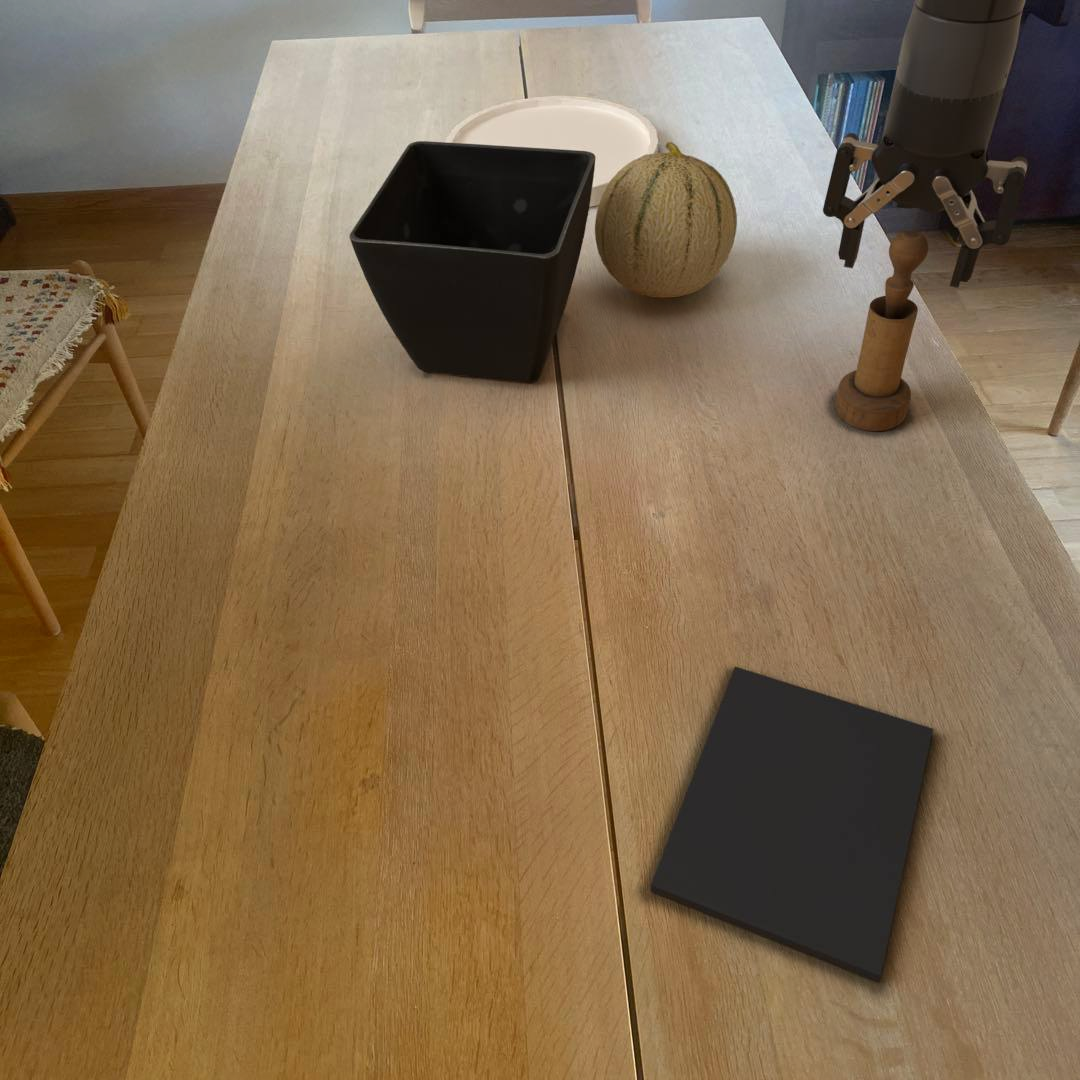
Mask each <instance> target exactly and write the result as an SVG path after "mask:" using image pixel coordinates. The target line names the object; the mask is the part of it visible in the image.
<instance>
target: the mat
mask: <svg viewBox="0 0 1080 1080" xmlns="http://www.w3.org/2000/svg"><path fill="white" fill-rule="evenodd" d="M933 733H934V728H932V727H929V726H926V725H923V724H919V723H916V722H913V721H911V720H907V719H903V718H900V717H897V716H894V715H892V714H891V715H890V714H888V713H884V712H881V711H878V710H875V709H872V708H869V707H865V706H863V705H859V704H857V703H853V702H850V701H847V700H843V699H840V698H838V697H837V698H836V697H835V696H830V695H827V694H824V693H822V692H819V691H815V690H811V689H808V688H805V687H802V686H799V685H795V684H793V683H789V682H786V681H783V680H779V679H777V678H775V677H774V678H773V677H770V676H767V675H763V674H761V673H758V672H755V671H751V670H748V669H745V668H743V667H742V668H741V667H738V666H734V667H733V670H732V673H731V675H730V678H729V680H728V683H727V686H726V689H725V690H724V693H723V696H722V699H721V701H720V704H719V706H718V709H717V711H716V714H715V716H714V719H713V722H712V725H711V727H710V730H709V733H708V735H707V737H706V740H705V743H704V746H703V748H702V750H701V753H700V756H699V758H698V761H697V763H696V766H695V769H694V771H693V774H692V776H691V778H690V782H689V785H688V787H687V790H686V792H685V795H684V797H683V800H682V803H681V805H680V808H679V810H678V812H677V815H676V819H675V821H674V824H673V826H672V829H671V830H670V833H669V837H668V839H667V841H666V844H665V846H664V849H663V852H662V854H661V857H660V860H659V862H658V865H657V868H656V869H655V873H654V875H653V878H652V880H651V883H650V893H653V894H656V895H658V896H660V897H663V898H664V899H665V898H666V899H668V900H671V901H673V902H676V903H678V904H680V905H683V906H686V907H688V908H691V909H693V910H695V911H698V912H701V913H703V914H706V915H708V916H711V917H712V918H716V919H718V920H720V921H723V922H726V923H728V924H730V925H733V926H735V927H739V928H740V929H743V930H745V931H748V932H751V933H752V934H755V935H758V936H761V937H764V938H766V939H768V940H770V941H774V942H776V943H778V944H780V945H783V946H786V947H788V948H791V949H793V950H795V951H799V952H801V953H803V954H806V955H808V956H810V957H813V958H816V959H819V960H821V961H824V962H826V963H828V964H831V965H833V966H836V967H839V968H841V969H843V970H846V971H849V972H851V973H853V974H856V975H859V976H861V977H864V978H866V979H868V980H871V981H872V982H873V981H874V982H876V983H879V981H880V979H881V978H882V974H883V969H884V964H885V961H886V955H887V950H888V945H889V941H890V935H891V931H892V927H893V922H894V917H895V911H896V908H897V904H898V900H899V899H898V898H899V893H900V889H901V884H902V879H903V876H904V875H903V874H904V871H905V864H906V860H907V856H908V851H909V846H910V841H911V837H912V832H913V827H914V823H915V818H916V813H917V808H918V804H919V799H920V795H921V794H920V793H921V789H922V784H923V779H924V775H925V771H926V767H927V761H928V756H929V751H930V746H931V743H932V739H933V738H932V737H933Z"/></svg>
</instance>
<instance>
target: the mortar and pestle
mask: <svg viewBox="0 0 1080 1080" xmlns="http://www.w3.org/2000/svg"><path fill="white" fill-rule="evenodd" d="M888 248H889V249H888V256H889V259H890V262H891V265H892V268H893V273H892V276H889V277H888V278H887V279H885V287H884V292H885V293H884V294H885V295H881V296H877V297H875V298H874V299H872V300H871V302H870V303H869V307H868V312H867V317H866V322H865V327H864V333H863V337H862V342H861V347H860V351H859V356H858V361H857V366H856V369H855V370H852V371H850V372H848V373H846V374H845V375H844V376H843V377H842V378H841V379H840V381H839V383H838V388H837V393H836V397H835V404H834V406H835V407H834V408H835V411H836V413H837V415H838V417H839V418H840V419H841V420H842V421H843V422H845V423H846V424H847V425H850V426H852V427H853V428H855V429H858V430H859V429H860V430H863V431H869V432H882V431H883V432H884V431H888V430H891V429H894V428H896V427H898V426H899V425H901V424H903V422H904V421H905V419H906V418H907V415H908V411H909V406H910V402H911V398H912V391H911V387H910V386H909V384H908V383H907V382H906V380H904V379H903V378H902V375H903V370H904V367H905V362H906V358H907V353H908V350H909V346H910V342H911V338H912V334H913V330H914V327H915V323H916V320H917V316H918V312H919V309H918V305H917V304H916V303H915V302H914V301H913V300H911V299H909V296H910V295H911V293H912V291H913V288H914V286H915V283H914V281H913V280H912V274H913V272H914V271H915V270H916V269H917V268H918V267H919V266H920V265H921V264H922V263H923V262H924V261H925V259H926V258H927V256H928V252H929V242H928V240H927V238H926V236H925V235H924V234H922V233H921V232H919V231H916V230H903V231H900V232H899V233H897V234H896V235H895V236H894V237H893V239H892V240H891V242H890V243H889V247H888Z"/></svg>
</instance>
